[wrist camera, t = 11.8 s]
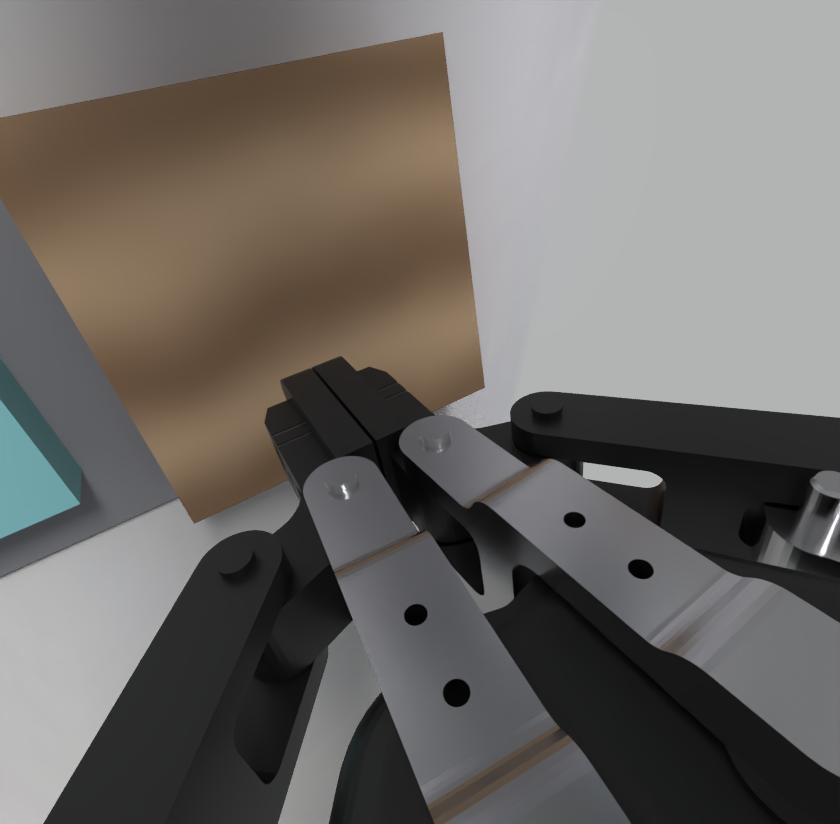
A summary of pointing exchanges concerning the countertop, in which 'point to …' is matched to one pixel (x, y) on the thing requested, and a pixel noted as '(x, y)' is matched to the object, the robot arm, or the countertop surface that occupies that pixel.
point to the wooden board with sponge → (254, 245)
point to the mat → (69, 410)
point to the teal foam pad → (31, 462)
